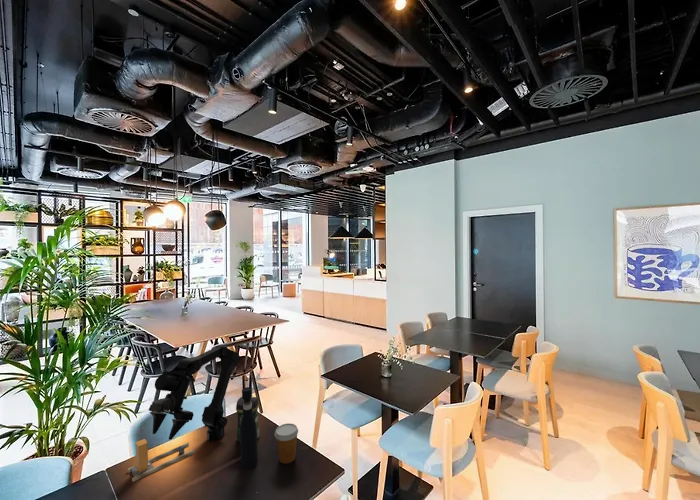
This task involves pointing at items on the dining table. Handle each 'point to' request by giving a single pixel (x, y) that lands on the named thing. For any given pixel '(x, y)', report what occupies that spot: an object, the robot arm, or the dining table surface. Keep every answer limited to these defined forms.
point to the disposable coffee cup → (286, 442)
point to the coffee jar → (240, 413)
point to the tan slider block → (141, 458)
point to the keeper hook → (181, 450)
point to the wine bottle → (248, 432)
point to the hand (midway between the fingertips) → (161, 436)
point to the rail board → (163, 463)
